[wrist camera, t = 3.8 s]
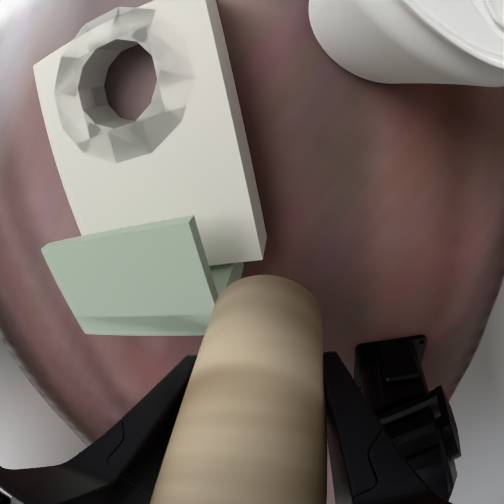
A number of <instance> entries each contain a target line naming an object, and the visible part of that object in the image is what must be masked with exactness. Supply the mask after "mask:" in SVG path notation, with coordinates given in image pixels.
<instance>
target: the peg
mask: <svg viewBox="0 0 504 504" xmlns="http://www.w3.org/2000/svg"><path fill="white" fill-rule="evenodd" d="M323 353H324V342H323V327H322V314H321V309H320V306H319V304H318V302H317V300H316V299H315V297H314V296H313V295H312V294H311V293H310V291H309V290H307V289H306V288H305V287H303V286H302V285H300V284H299V283H297V282H295V281H292V280H290V279H287V278H284V277H280V276H275V275H254V276H249V277H245V278H242V279H239V280H237V281H235V282H233V283H231V284H230V285H229V286H227V287H226V288H225V289H224V290H223V291H222V292H221V294H220V295H219V296H218V298H217V300H216V303H215V306H214V309H213V312H212V315H211V318H210V320H209V323H208V326H207V329H206V332H205V335H204V338H203V341H202V344H201V347H200V350H199V353H198V356H197V359H196V362H195V365H194V368H193V371H192V374H191V377H190V380H189V383H188V386H187V389H186V392H185V395H184V398H183V401H182V404H181V407H180V410H179V413H178V416H177V419H176V422H175V425H174V428H173V431H172V434H171V437H170V441H169V444H168V447H167V450H166V453H165V456H164V459H163V462H162V466H161V469H160V472H159V475H158V478H157V481H156V485H155V488H154V491H153V494H152V498H151V501H150V504H326V498H327V409H326V395H325V384H324V362H323Z"/></svg>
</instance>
